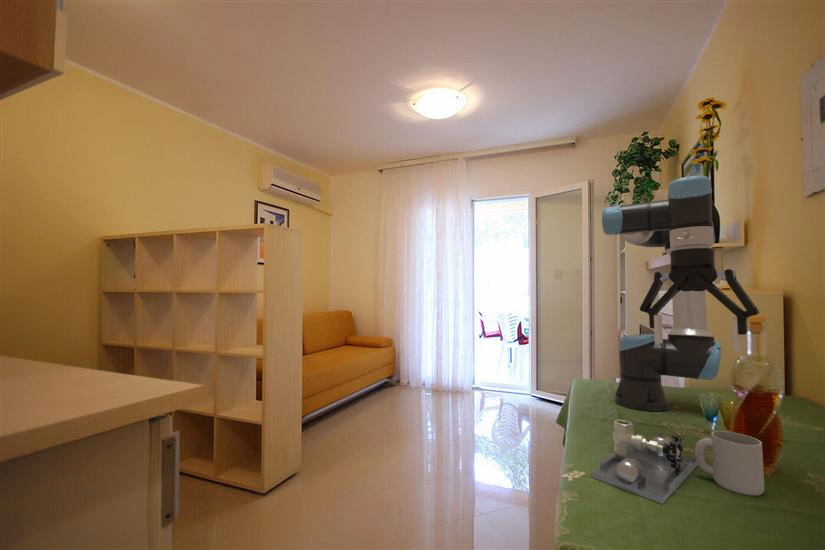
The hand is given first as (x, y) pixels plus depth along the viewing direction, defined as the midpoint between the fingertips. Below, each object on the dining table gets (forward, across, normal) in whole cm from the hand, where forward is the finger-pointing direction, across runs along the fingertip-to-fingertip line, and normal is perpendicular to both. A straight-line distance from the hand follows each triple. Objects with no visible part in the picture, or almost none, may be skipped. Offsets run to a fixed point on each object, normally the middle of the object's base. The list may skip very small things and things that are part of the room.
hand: (695, 347), depth 77 cm
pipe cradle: (+25, -6, -12) cm, 28 cm away
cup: (+25, +6, -5) cm, 26 cm away
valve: (+23, -6, -11) cm, 26 cm away
